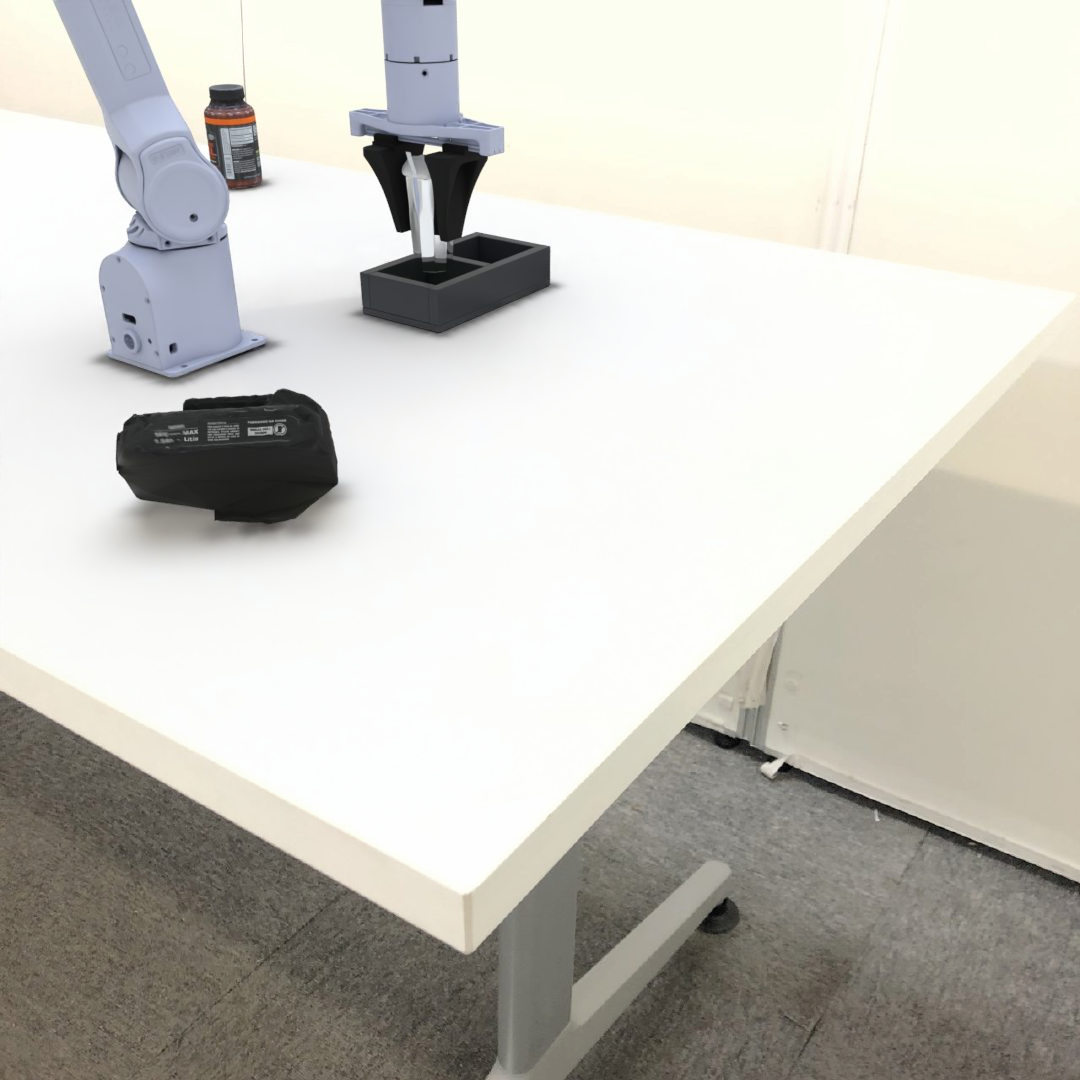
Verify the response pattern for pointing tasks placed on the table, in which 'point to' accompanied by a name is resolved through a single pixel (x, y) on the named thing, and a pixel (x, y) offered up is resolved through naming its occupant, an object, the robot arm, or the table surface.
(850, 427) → the table surface
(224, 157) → the supplement bottle
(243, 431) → the battery
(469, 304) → the dark grey divided tray
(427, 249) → the milkshake
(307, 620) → the table surface
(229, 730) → the table surface
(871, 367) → the table surface
